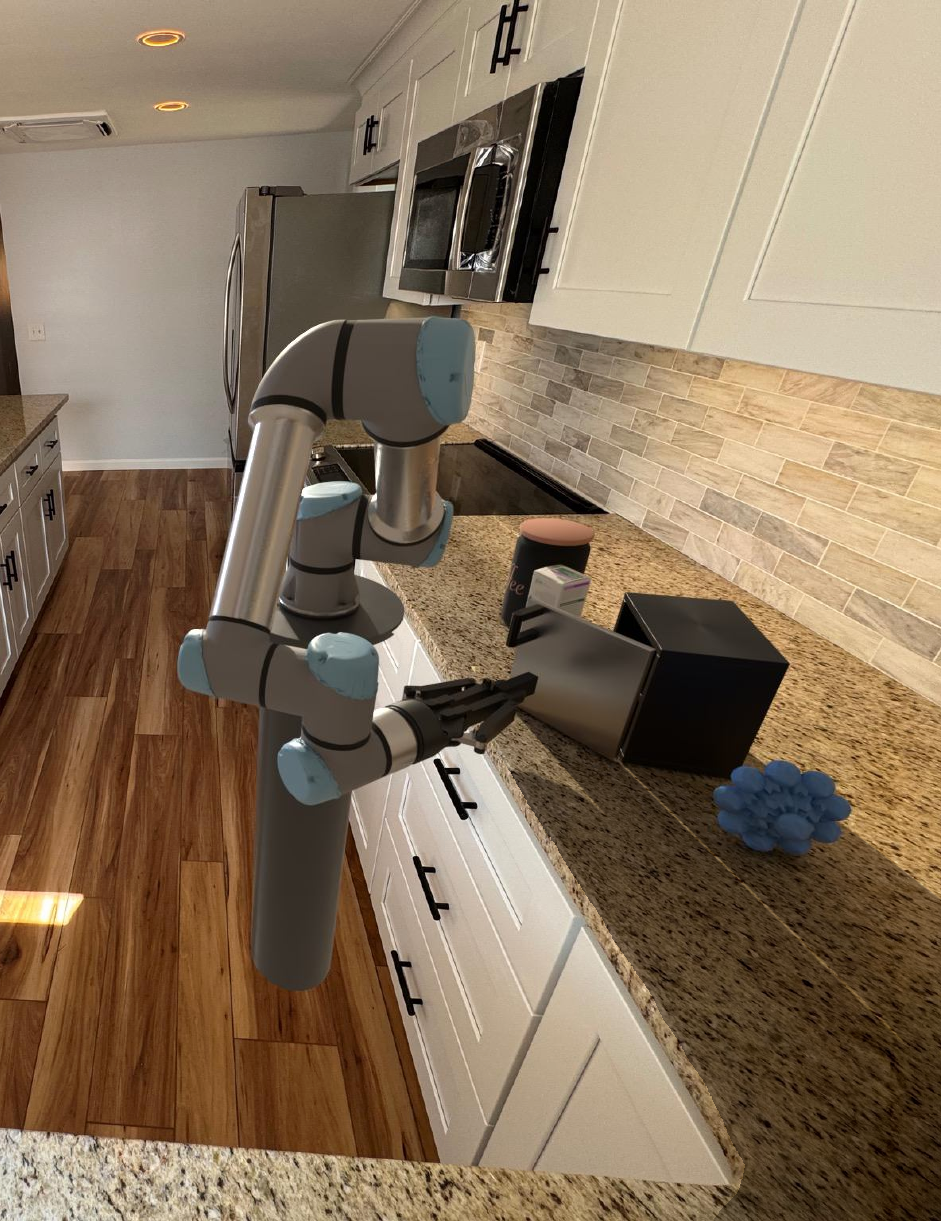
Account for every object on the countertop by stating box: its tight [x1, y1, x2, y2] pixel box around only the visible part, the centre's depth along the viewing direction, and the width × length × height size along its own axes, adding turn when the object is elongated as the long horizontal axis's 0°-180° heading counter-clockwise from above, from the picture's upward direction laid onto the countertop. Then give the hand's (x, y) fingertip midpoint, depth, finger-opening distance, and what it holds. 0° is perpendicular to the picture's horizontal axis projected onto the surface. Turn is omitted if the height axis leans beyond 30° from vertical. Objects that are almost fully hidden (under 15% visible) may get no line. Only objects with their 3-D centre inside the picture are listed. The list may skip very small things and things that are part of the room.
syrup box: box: [520, 565, 592, 632], centre depth 107 cm, size 6×6×14 cm
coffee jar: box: [500, 517, 596, 632], centre depth 115 cm, size 11×11×18 cm
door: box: [505, 598, 656, 762], centre depth 89 cm, size 6×16×17 cm, turn 25°
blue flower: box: [712, 759, 852, 856], centre depth 70 cm, size 12×7×12 cm, turn 72°
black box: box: [612, 591, 791, 780], centre depth 87 cm, size 12×16×17 cm
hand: (531, 682), depth 89 cm, fingers closed
